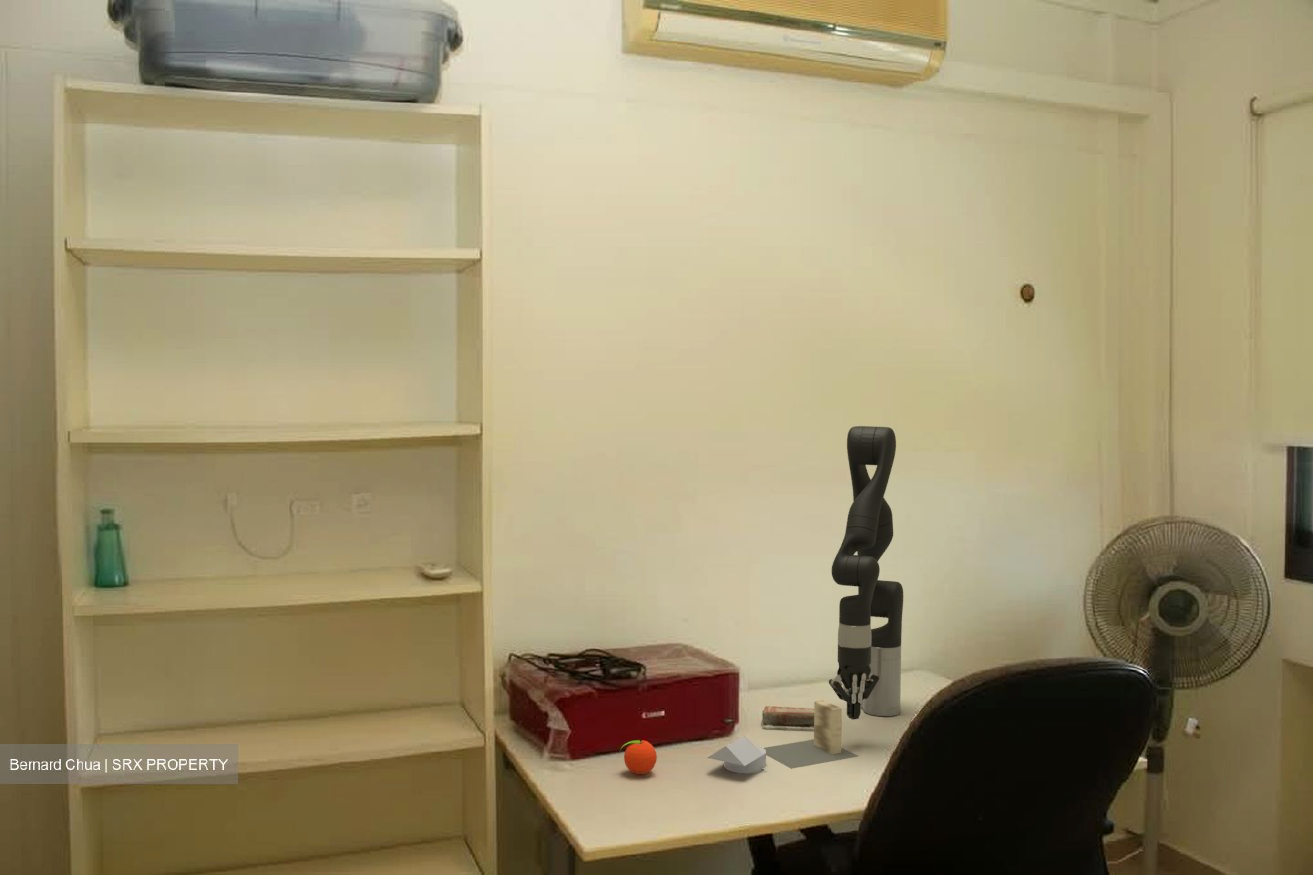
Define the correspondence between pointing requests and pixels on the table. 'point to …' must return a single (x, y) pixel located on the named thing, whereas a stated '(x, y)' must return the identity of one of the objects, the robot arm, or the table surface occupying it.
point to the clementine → (640, 756)
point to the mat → (804, 754)
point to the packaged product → (788, 719)
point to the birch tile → (827, 727)
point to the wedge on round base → (742, 756)
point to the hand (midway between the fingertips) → (853, 718)
